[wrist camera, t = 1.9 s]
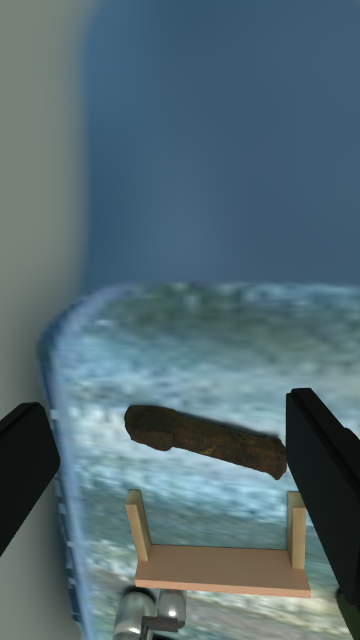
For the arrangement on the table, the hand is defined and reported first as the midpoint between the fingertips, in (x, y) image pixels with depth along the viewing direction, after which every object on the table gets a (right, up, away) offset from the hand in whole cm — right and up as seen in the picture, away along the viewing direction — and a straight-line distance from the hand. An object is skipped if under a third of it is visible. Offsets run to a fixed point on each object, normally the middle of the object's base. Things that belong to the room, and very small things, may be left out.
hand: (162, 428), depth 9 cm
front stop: (+6, -30, +25) cm, 40 cm away
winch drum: (0, -36, +27) cm, 45 cm away
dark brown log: (+3, -10, +20) cm, 23 cm away
